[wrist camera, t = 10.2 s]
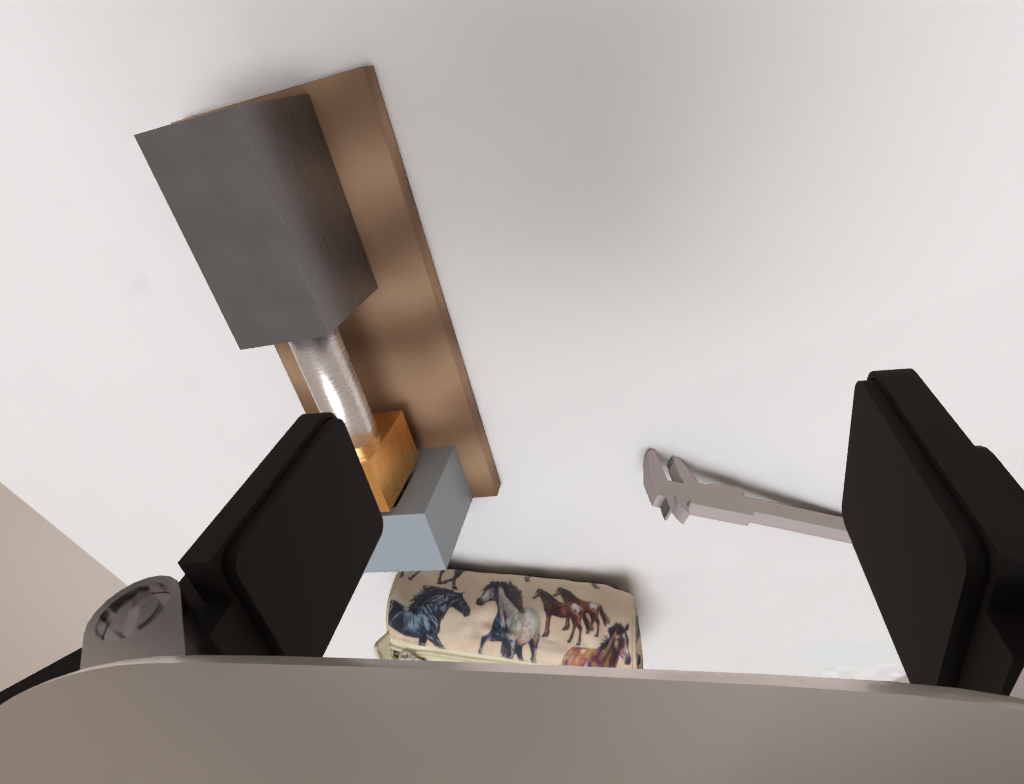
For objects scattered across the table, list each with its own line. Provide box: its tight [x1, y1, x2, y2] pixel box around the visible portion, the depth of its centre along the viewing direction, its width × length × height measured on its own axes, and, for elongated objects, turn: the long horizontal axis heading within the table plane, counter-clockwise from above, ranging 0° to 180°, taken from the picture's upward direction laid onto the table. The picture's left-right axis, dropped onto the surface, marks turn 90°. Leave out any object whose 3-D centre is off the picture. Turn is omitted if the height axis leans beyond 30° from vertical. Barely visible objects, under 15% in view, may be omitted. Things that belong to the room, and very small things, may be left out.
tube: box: [288, 328, 419, 512], centre depth 39 cm, size 18×4×6 cm, turn 13°
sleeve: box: [134, 93, 378, 350], centre depth 34 cm, size 12×6×7 cm, turn 13°
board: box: [171, 66, 501, 498], centre depth 42 cm, size 30×13×2 cm, turn 13°
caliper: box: [643, 449, 852, 544], centre depth 41 cm, size 21×1×6 cm, turn 75°
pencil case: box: [374, 569, 643, 669], centre depth 49 cm, size 22×8×10 cm, turn 92°
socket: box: [363, 446, 473, 573], centre depth 44 cm, size 5×9×8 cm, turn 103°
